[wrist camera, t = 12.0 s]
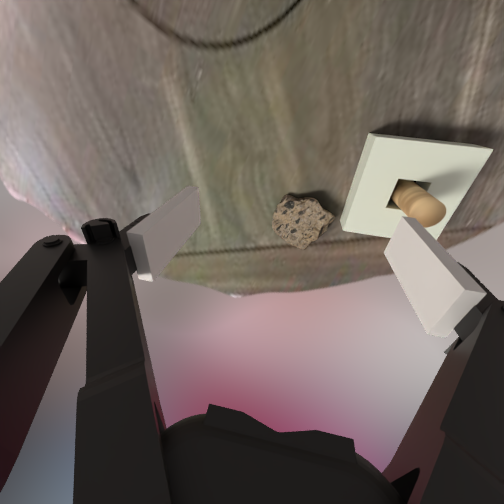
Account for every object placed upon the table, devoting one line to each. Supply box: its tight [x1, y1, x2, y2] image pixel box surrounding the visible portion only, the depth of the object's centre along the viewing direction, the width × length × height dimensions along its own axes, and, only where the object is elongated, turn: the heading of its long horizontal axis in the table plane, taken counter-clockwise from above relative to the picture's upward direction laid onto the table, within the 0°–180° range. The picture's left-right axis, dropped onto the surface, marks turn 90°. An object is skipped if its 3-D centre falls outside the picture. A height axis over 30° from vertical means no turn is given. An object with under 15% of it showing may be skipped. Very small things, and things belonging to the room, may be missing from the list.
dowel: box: [390, 179, 446, 228], centre depth 36 cm, size 4×4×12 cm
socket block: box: [340, 133, 494, 240], centre depth 39 cm, size 16×16×4 cm
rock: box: [272, 194, 335, 250], centre depth 46 cm, size 11×11×4 cm
